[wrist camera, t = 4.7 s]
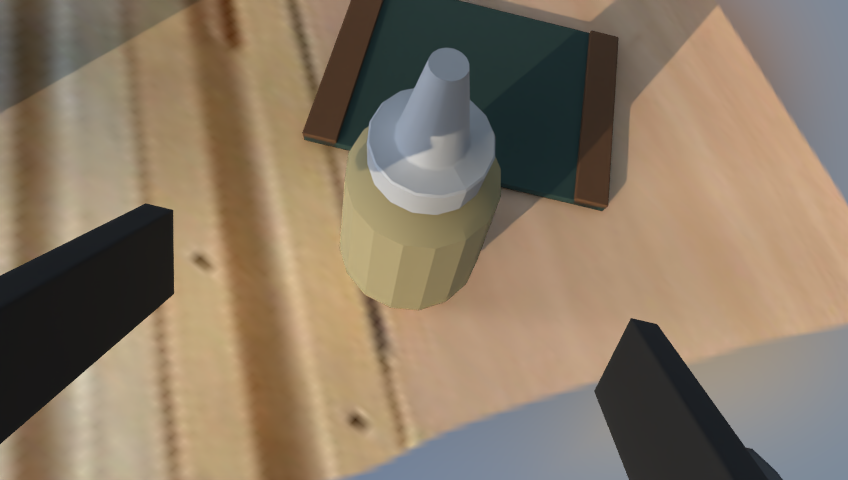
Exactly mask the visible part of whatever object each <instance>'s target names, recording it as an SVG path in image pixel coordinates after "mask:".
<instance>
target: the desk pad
mask: <svg viewBox="0 0 848 480" xmlns="http://www.w3.org/2000/svg"><path fill="white" fill-rule="evenodd" d="M441 48H453V49H456V50H458V51H460V52H462V53H463V54H464V55H465V56H466V57H467V60H468V62H469V80H470V100H471V101H472V102H473V103H474V104H475V105H476V106H477V107H478V108H479V109H480V110H481V111H482V112H483V113H484V114H485V115H486V116H487V119H488V121H489V123H490V125H491V128H492V130H493V132H494V134H495V157H496V159H497V162H498V164H499V166H500V168H501V187H504V188H508V189H512V190H516V191H521V192H525V193H529V194H533V195H537V196H542V197H546V198H550V199H554V200H558V201H562V202H567V203H571V204H575V205H579V206H583V207H588V208H592V209H596V210H600V211H603V210H604V209H605V208H606V207H607V206H608V198H609V182H610V165H611V149H612V133H613V116H614V100H615V84H616V68H617V51H618V37H615V36H611V35H607V34H603V33H599V32H595V31H591V32H590V33H587V32H583V31H579V30H575V29H571V28H567V27H563V26H559V25H555V24H551V23H547V22H543V21H539V20H535V19H531V18H527V17H523V16H519V15H515V14H511V13H507V12H503V11H499V10H495V9H491V8H487V7H483V6H479V5H475V4H471V3H467V2H463V1H459V0H351V2H350V5H349V8H348V10H347V13H346V16H345V19H344V21H343V24H342V27H341V29H340V32H339V35H338V38H337V40H336V43H335V46H334V48H333V51H332V54H331V57H330V59H329V62H328V65H327V67H326V70H325V73H324V76H323V78H322V81H321V84H320V86H319V89H318V92H317V95H316V97H315V100H314V103H313V105H312V108H311V111H310V114H309V116H308V119H307V122H306V124H305V127H304V130H303V137H304V140H307V141H311V142H316V143H320V144H324V145H328V146H332V147H336V148H341V149H345V150H349V151H350V150H351V148H352V147H353V145H354V144H355V142H356V141H357V139H358V138H359V136H360V134H361V133H362V131H363V130H364V129H365V128H367V127H368V126H369V122H370V120H371V119H372V117H373V116H374V114H375V113H376V111H377V109H378V108H379V106H380V105H381V103H383V102H384V101H386V100H387V99H389V98H391V97H392V96H394V95H395V94H397V93H398V92H400V91H403V90H408V89H413V88H415V86H416V84H417V82H418V80H419V78H420V75H421V73H422V71H423V69H424V67H425V65H426V63H427V61H428V59H429V57H430V55H431V54H432V53H433V52H434V51H436V50H438V49H441Z"/></svg>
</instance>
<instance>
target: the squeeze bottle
mask: <svg viewBox="0 0 848 480" xmlns="http://www.w3.org/2000/svg"><path fill="white" fill-rule="evenodd" d="M500 197H501V168H500V166H499V164H498V162H497V159H496V157H495V134H494V132H493V130H492V128H491V125H490V123H489V121H488V119H487V116H486V115H485V114H484V113H483V112H482V111H481V110H480V109H479V108H478V107H477V106H476V105H475V104H474V103H473V102H472V101H471V100H470V80H469V62H468V60H467V57H466V56H465V55H464V54H463V53H462V52H460V51H458V50H456V49H453V48H441V49H438V50H436V51H434V52H433V53H432V54H431V55H430V57H429V59H428V61H427V63H426V65H425V67H424V69H423V71H422V73H421V75H420V78H419V80H418V82H417V84H416V86H415V88H413V89H408V90H403V91H400V92H398V93H397V94H395V95H394V96H392V97H391V98H389V99H387V100H386V101H384V102H383V103H381V105H380V106H379V108H378V109H377V111H376V113H375V114H374V116H373V117H372V119H371V120H370V122H369V126H368V127H367V128H365V129H364V130H363V131H362V133H361V134H360V136H359V138H358V139H357V141H356V142H355V144H354V145H353V147H352V148H351V150H350V151H349V154H348V161H347V168H346V175H345V184H344V197H343V210H342V223H341V235H340V251H341V254H342V258H343V261H344V265H345V268H346V271H347V274H348V275H349V276H350V277H351V279H352V280H353V281H354V282H355V283H356V285H357V286H358V287H359V288H360V289H361V291H362V292H363V293H364V294H365V295H367V296H369V297H370V298H372V299H374V300H376V301H378V302H380V303H382V304H384V305H386V306H388V307H390V308H400V309H412V310H421V309H424V308H427V307H430V306H433V305H437V304H440V303H443V302H446V301H447V300H448V299H449V298H450V297H452V296H453V295H454V294H455V293H456V292H457V291H458V290H460V289H461V288H462V287H463V286H464V285H465V284H466V283H467V281H468V279H469V276H470V274H471V272H472V270H473V268H474V266H475V264H476V262H477V259H478V256H479V254H480V251H481V248H482V246H483V243H484V240H485V237H486V235H487V232H488V229H489V227H490V224H491V221H492V218H493V216H494V213H495V210H496V208H497V205H498V202H499V199H500Z"/></svg>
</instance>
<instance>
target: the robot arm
mask: <svg viewBox="0 0 848 480" xmlns="http://www.w3.org/2000/svg"><path fill="white" fill-rule="evenodd" d="M173 294H174V253H173V210H171V209H167V208H162V207H158V206H154V205H150V204H144V205H142V206H140V207H138V208H136V209H134V210H132V211H130V212H128V213H126V214H124V215H122V216H120V217H118V218H115V219H113V220H111V221H109V222H107V223H105V224H103V225H101V226H99V227H97V228H95V229H93V230H91V231H89V232H87V233H85V234H83V235H81V236H79V237H77V238H75V239H73V240H71V241H69V242H67V243H65V244H63V245H61V246H59V247H57V248H55V249H53V250H51V251H49V252H47V253H45V254H43V255H41V256H39V257H37V258H35V259H33V260H31V261H29V262H27V263H25V264H23V265H21V266H19V267H17V268H15V269H13V270H11V271H9V272H7V273H5V274H3V275H1V276H0V444H1V443H2V442H3V441H4V440H5V439H7V438H8V437H9V436H10V435H11V434H12V433H13V432H15V431H16V430H17V429H18V428H19V427H20V426H22V425H23V424H24V423H25V422H26V421H27V420H29V419H30V418H31V417H32V416H33V415H34V414H35V413H37V412H38V411H39V410H40V409H41V408H42V407H44V406H45V405H46V404H47V403H48V402H49V401H51V400H52V399H53V398H54V397H55V396H56V395H57V394H59V393H60V392H61V391H62V390H63V389H64V388H66V387H67V386H68V385H69V384H70V383H71V382H73V381H74V380H75V379H76V378H77V377H78V376H79V375H81V374H82V373H83V372H84V371H85V370H86V369H88V368H89V367H90V366H91V365H92V364H93V363H94V362H96V361H97V360H98V359H99V358H100V357H101V356H103V355H104V354H105V353H106V352H107V351H108V350H110V349H111V348H112V347H113V346H114V345H115V344H116V343H118V342H119V341H120V340H121V339H122V338H123V337H125V336H126V335H127V334H128V333H129V332H130V331H132V330H133V329H134V328H135V327H136V326H137V325H138V324H140V323H141V322H142V321H143V320H144V319H145V318H147V317H148V316H149V315H150V314H151V313H152V312H154V311H155V310H156V309H157V308H158V307H159V306H160V305H162V304H163V303H164V302H165V301H166V300H167V299H169V298H170V297H171V296H172V295H173ZM595 394H596V397H597V399H598V402H599V404H600V407H601V409H602V412H603V414H604V417H605V420H606V422H607V425H608V427H609V429H610V432H611V435H612V437H613V440H614V442H615V445H616V447H617V450H618V452H619V455H620V458H621V460H622V462H623V465H624V468H625V470H626V473H627V475H628V478H629V480H783V479H782V478H781V477H780V476H779V474H778V473H777V472H776V471H775V470H774V469H773V468H772V467H771V466H770V465H769V464H768V463H767V462H766V461H765V460H764V459H762V458H761V457H760V456H759V455H758V454H757V453H756V452H755V451H754V450H753V449H750V448H745V446H744V445H743V443H742V442H741V441H740V439H739V438H738V436H737V435H736V434H735V432H734V431H733V429H732V428H731V427H730V425H729V424H728V422H727V421H726V420H725V418H724V417H723V416H722V414H721V413H720V411H719V410H718V409H717V407H716V406H715V404H714V403H713V402H712V400H711V399H710V398H709V396H708V395H707V393H706V392H705V390H704V389H703V388H702V386H701V385H700V384H699V382H698V381H697V379H696V378H695V377H694V375H693V374H692V372H691V371H690V369H689V368H688V367H687V365H686V364H685V362H684V361H683V360H682V358H681V357H680V356H679V354H678V353H677V351H676V350H675V349H674V347H673V346H672V344H671V343H670V342H669V340H668V339H667V337H666V336H665V335H664V333H663V332H662V330H661V329H660V328H659V326H658V325H657V324H654V323H649V322H645V321H641V320H637V319H633V318H631V319H630V321H629V323H628V325H627V327H626V329H625V331H624V333H623V335H622V337H621V339H620V341H619V343H618V345H617V347H616V349H615V351H614V353H613V355H612V357H611V359H610V361H609V363H608V365H607V367H606V369H605V371H604V373H603V375H602V377H601V379H600V381H599V383H598V385H597V387H596V389H595Z"/></svg>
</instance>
